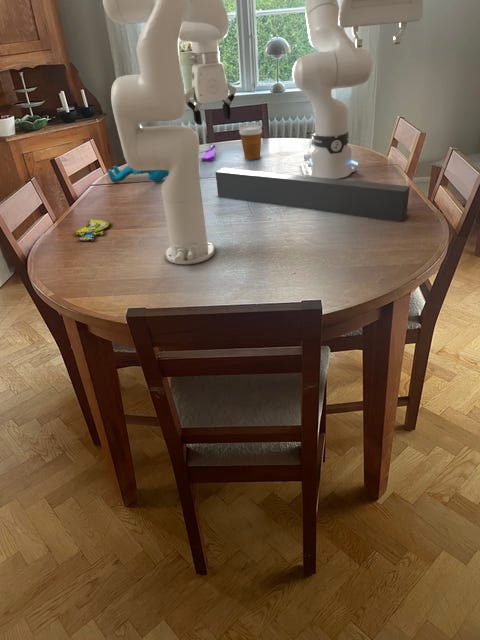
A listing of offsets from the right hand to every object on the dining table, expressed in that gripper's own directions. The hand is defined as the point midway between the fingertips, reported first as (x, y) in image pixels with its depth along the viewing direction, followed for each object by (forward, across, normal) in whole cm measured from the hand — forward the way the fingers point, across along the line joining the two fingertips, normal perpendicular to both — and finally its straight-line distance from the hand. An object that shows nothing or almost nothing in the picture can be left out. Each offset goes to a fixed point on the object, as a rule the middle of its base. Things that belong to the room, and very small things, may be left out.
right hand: (377, 45), depth 122 cm
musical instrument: (+41, +63, -68) cm, 101 cm away
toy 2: (+41, +78, -36) cm, 95 cm away
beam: (+42, +19, -1) cm, 46 cm away
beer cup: (+41, +40, -60) cm, 83 cm away
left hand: (+18, +47, -13) cm, 52 cm away
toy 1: (+42, +82, +14) cm, 93 cm away
